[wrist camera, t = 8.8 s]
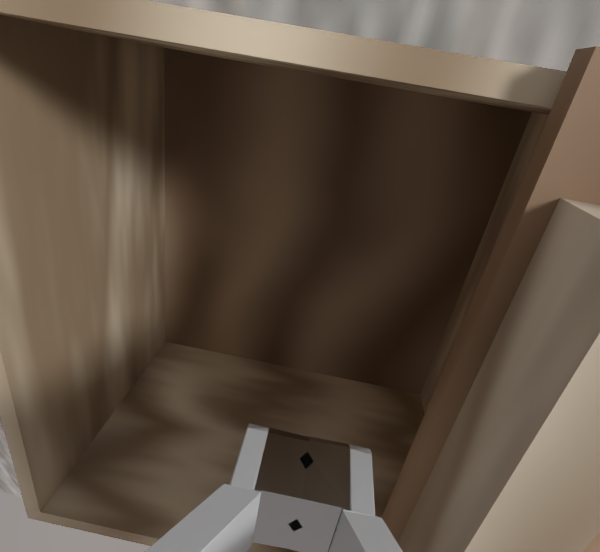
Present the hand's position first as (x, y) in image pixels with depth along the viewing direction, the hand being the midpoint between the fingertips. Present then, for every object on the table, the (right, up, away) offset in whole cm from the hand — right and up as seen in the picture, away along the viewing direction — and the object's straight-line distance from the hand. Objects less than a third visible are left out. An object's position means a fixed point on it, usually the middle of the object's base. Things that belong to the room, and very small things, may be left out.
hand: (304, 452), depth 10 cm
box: (+1, +6, +12) cm, 14 cm away
